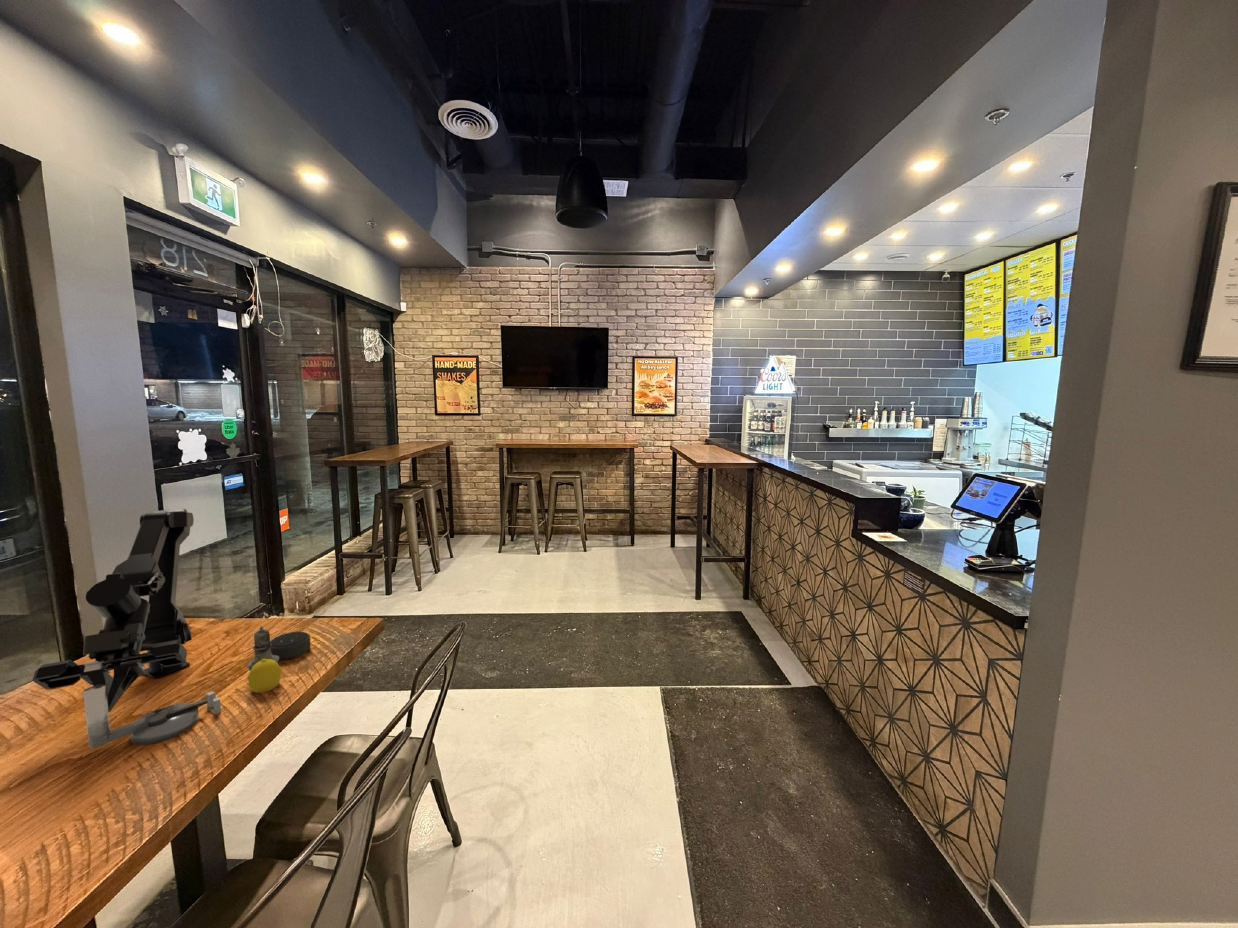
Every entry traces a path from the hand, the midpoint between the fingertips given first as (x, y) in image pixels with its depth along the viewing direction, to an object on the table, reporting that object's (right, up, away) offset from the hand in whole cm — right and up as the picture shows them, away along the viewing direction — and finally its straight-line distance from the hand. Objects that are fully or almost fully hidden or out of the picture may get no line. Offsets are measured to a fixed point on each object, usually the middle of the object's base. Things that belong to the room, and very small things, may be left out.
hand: (105, 712), depth 81 cm
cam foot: (+6, -5, +3) cm, 9 cm away
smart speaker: (+7, -4, +35) cm, 36 cm away
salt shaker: (+9, -5, +25) cm, 27 cm away
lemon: (+15, -6, +18) cm, 24 cm away
